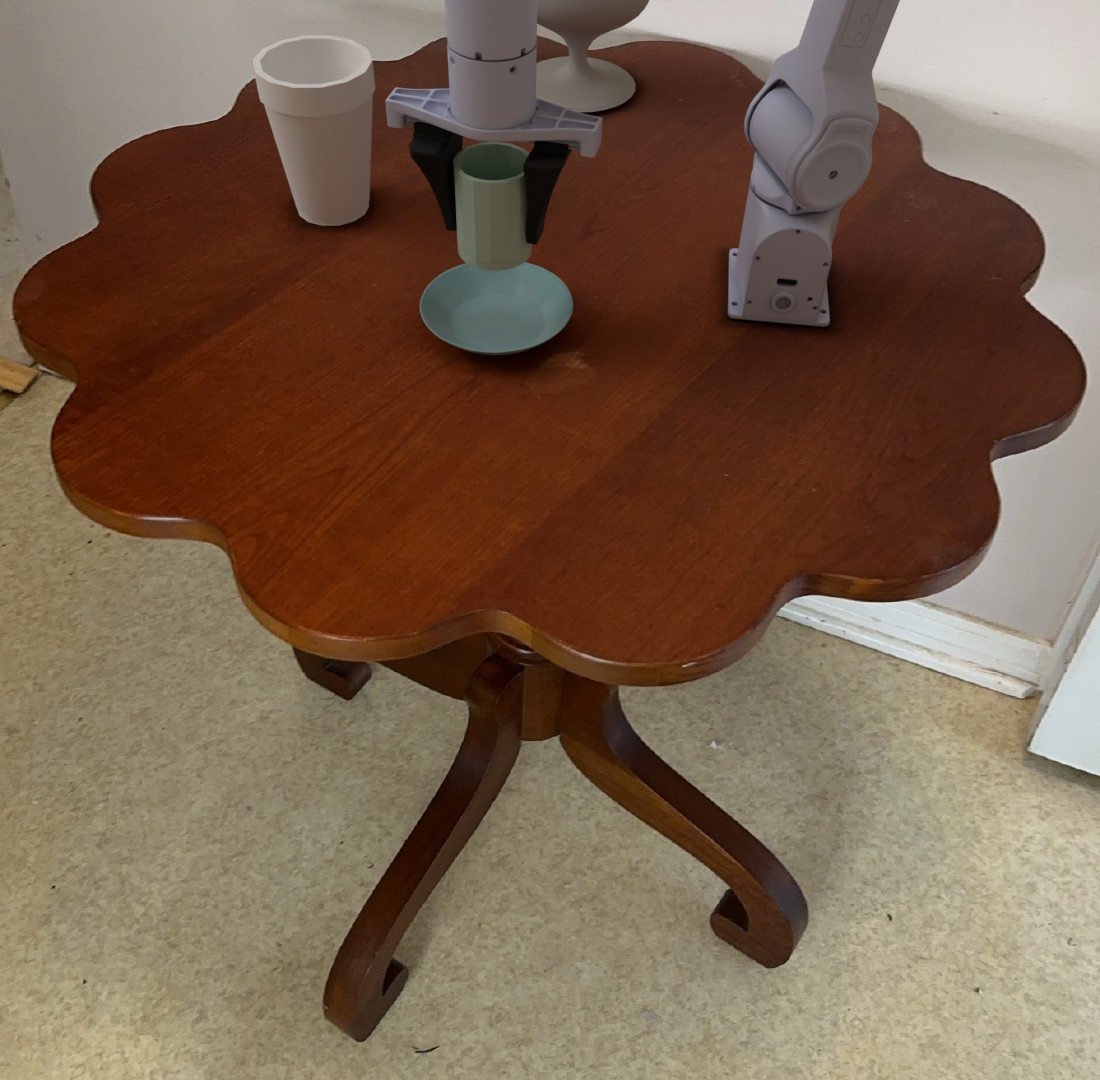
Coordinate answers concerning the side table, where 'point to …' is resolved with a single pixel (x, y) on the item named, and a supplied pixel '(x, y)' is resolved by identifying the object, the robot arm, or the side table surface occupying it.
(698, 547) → the side table surface
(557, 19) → the chalice
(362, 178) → the foam cup
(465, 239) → the glass
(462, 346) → the saucer
